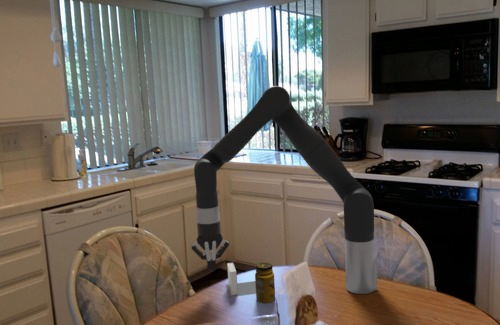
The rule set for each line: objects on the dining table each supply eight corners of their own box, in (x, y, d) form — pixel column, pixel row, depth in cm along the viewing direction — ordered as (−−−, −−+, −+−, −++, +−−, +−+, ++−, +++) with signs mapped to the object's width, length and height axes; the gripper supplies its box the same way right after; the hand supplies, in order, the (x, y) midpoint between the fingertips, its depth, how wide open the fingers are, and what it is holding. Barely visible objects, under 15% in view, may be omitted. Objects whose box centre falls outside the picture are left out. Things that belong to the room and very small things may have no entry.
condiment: (281, 301, 146) (279, 265, 144) (259, 309, 142) (256, 272, 140) (267, 294, 152) (265, 259, 150) (246, 301, 148) (243, 265, 146)
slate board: (262, 281, 162) (262, 280, 162) (268, 293, 152) (268, 291, 152) (225, 286, 160) (225, 284, 160) (229, 298, 150) (228, 296, 150)
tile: (234, 284, 159) (233, 262, 158) (238, 294, 152) (236, 271, 150) (228, 285, 159) (227, 263, 158) (231, 295, 151) (230, 272, 150)
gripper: (227, 215, 155) (230, 264, 158) (187, 218, 153) (191, 268, 156) (229, 220, 148) (233, 272, 151) (188, 224, 146) (192, 276, 149)
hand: (211, 270), depth 153 cm, fingers closed
